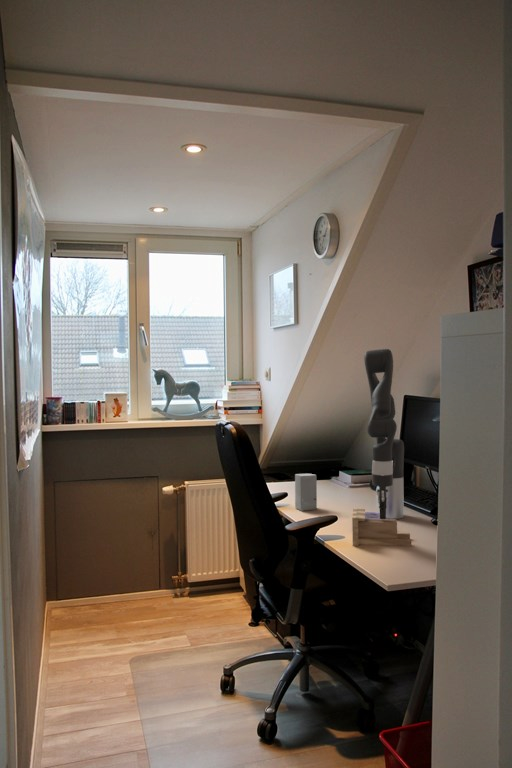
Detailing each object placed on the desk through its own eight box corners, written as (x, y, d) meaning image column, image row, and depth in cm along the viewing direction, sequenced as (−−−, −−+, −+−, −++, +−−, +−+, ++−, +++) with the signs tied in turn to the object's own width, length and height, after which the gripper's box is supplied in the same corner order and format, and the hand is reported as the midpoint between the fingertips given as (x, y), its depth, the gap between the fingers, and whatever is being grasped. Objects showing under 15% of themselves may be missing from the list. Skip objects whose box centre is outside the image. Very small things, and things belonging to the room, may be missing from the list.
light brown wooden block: (358, 539, 239) (358, 518, 238) (396, 540, 236) (396, 519, 236) (358, 543, 234) (358, 521, 233) (397, 544, 231) (397, 522, 231)
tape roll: (389, 525, 257) (389, 513, 257) (382, 533, 246) (382, 520, 246) (361, 522, 262) (361, 510, 262) (353, 529, 252) (352, 517, 251)
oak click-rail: (353, 535, 244) (353, 508, 243) (409, 536, 240) (409, 510, 239) (352, 545, 230) (352, 518, 229) (412, 547, 226) (411, 519, 226)
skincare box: (301, 511, 282) (300, 476, 281) (294, 508, 288) (293, 473, 288) (318, 509, 285) (317, 474, 284) (310, 506, 292) (310, 472, 291)
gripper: (371, 469, 241) (372, 514, 242) (372, 475, 228) (372, 523, 229) (392, 469, 239) (392, 514, 240) (393, 475, 226) (393, 523, 227)
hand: (382, 518), depth 234 cm, fingers closed
